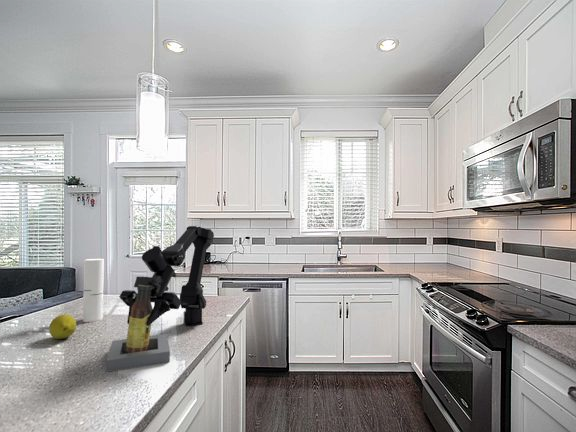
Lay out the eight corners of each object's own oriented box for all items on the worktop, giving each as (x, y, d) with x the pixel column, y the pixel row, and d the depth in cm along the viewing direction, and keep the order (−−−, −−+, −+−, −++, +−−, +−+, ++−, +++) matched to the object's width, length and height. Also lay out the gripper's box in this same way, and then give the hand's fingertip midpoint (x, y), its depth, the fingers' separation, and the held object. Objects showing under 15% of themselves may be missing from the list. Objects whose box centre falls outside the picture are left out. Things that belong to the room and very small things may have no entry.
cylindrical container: (88, 317, 135) (90, 258, 136) (105, 316, 136) (107, 258, 137) (78, 322, 128) (80, 260, 129) (97, 321, 129) (98, 260, 130)
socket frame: (166, 343, 105) (166, 333, 106) (169, 361, 91) (169, 351, 91) (112, 350, 99) (112, 340, 99) (106, 371, 84) (106, 360, 84)
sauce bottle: (147, 354, 94) (156, 288, 94) (124, 355, 91) (133, 287, 91) (148, 345, 100) (156, 282, 100) (126, 345, 97) (134, 281, 97)
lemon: (50, 335, 112) (51, 313, 112) (77, 332, 116) (77, 310, 116) (45, 345, 103) (46, 321, 103) (74, 341, 107) (75, 317, 107)
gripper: (123, 265, 102) (96, 308, 90) (176, 266, 98) (154, 312, 87) (139, 284, 109) (115, 327, 98) (189, 287, 105) (170, 331, 94)
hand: (137, 324), depth 94 cm, fingers closed on sauce bottle, 6 cm apart
